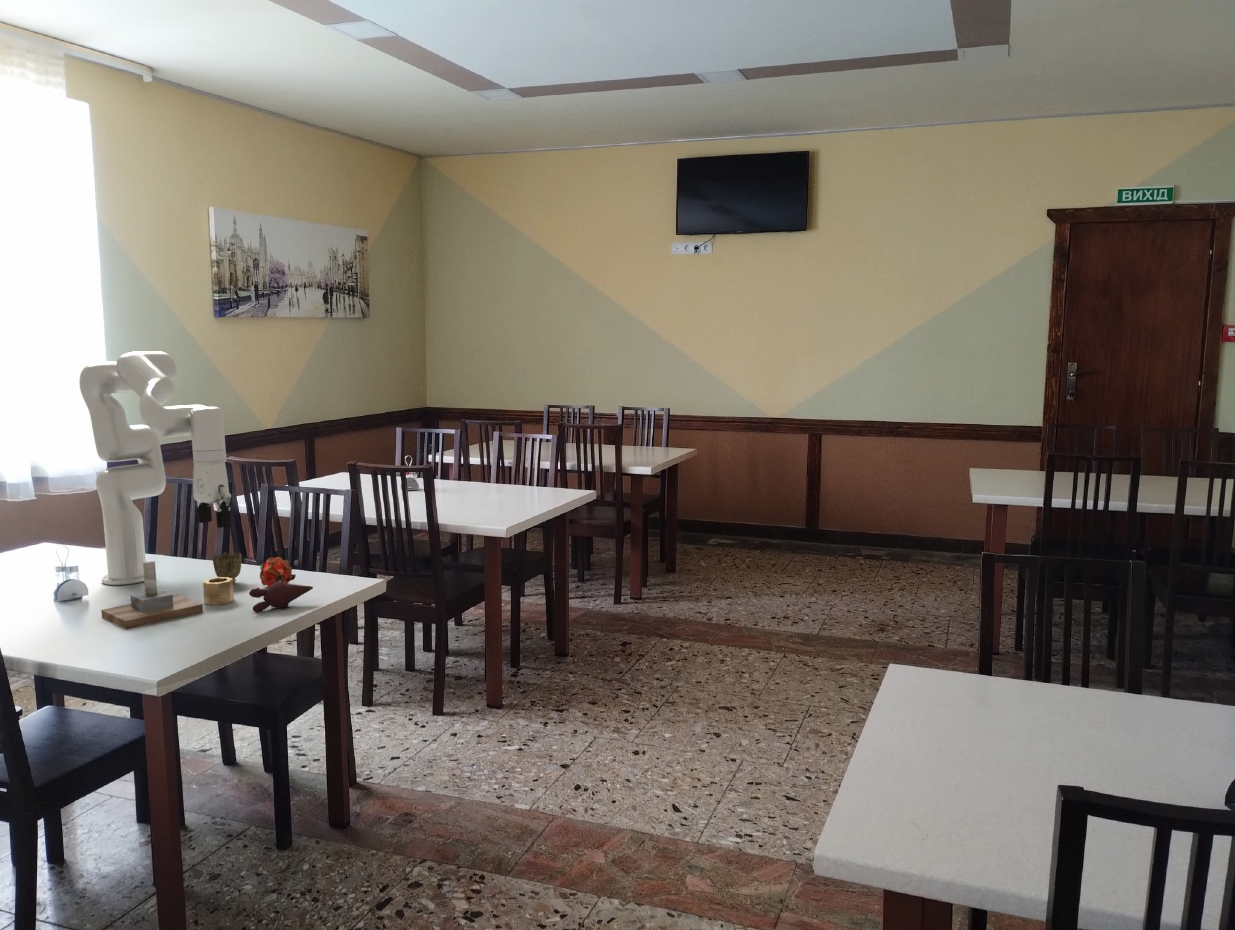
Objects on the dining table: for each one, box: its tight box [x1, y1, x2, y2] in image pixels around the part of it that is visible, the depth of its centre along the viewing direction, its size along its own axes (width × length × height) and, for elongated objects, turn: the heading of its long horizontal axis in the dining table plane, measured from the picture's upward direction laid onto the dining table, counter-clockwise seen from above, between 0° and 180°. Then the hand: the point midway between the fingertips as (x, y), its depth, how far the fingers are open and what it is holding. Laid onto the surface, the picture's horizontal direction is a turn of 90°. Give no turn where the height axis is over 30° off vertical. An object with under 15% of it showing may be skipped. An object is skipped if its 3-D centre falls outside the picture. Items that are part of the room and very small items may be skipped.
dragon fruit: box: [259, 557, 296, 588], centre depth 254 cm, size 8×8×12 cm
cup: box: [211, 552, 243, 585], centre depth 257 cm, size 8×7×8 cm
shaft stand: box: [100, 560, 204, 630], centre depth 228 cm, size 14×18×13 cm
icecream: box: [248, 580, 314, 613], centre depth 234 cm, size 7×7×15 cm
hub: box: [202, 576, 235, 606], centre depth 240 cm, size 6×6×6 cm
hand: (214, 524), depth 237 cm, fingers open, 9 cm apart
